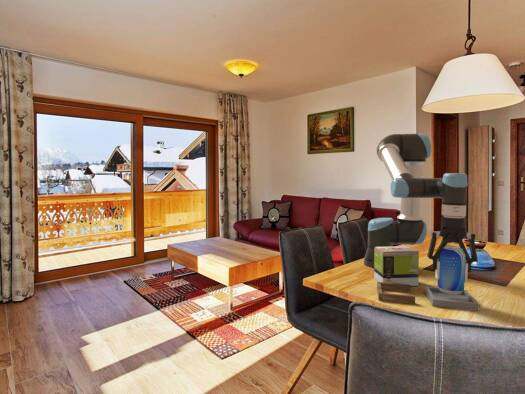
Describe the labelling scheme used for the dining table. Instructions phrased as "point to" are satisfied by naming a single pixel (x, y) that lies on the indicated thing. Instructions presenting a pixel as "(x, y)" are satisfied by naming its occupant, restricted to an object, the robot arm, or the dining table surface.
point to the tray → (451, 299)
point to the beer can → (452, 270)
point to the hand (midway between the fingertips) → (450, 279)
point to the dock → (394, 296)
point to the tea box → (396, 265)
